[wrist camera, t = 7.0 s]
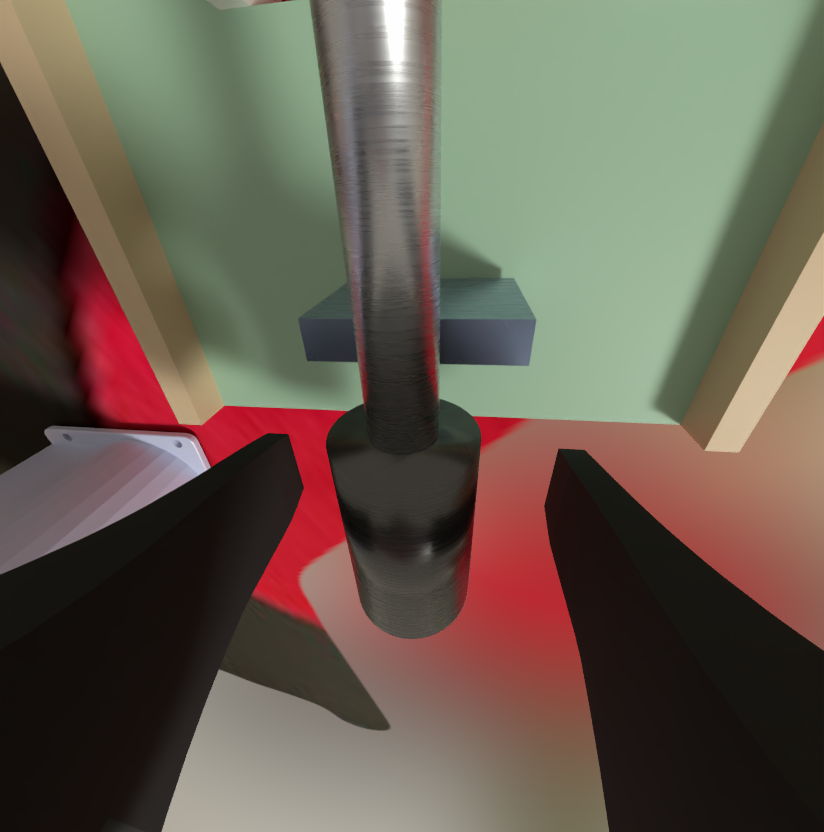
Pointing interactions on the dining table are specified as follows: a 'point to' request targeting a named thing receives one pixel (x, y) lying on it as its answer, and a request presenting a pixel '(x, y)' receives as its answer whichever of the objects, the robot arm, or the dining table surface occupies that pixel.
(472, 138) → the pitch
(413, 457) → the rod
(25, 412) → the dining table surface
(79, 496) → the robot arm
